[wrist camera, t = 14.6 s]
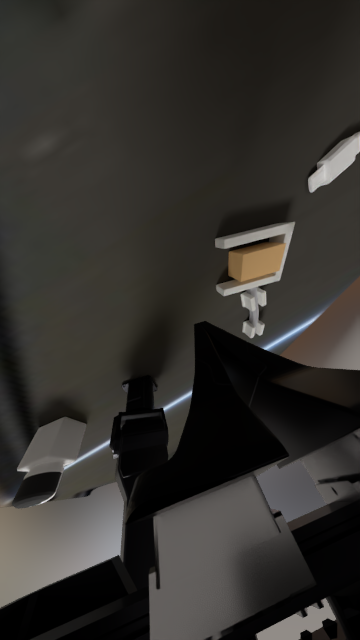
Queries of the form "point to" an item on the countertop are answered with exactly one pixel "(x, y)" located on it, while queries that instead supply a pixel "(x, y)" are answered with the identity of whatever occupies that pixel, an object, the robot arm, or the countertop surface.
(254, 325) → the clip
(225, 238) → the end holder
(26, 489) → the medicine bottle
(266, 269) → the tan rectangular block
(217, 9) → the countertop surface
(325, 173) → the charging cable
